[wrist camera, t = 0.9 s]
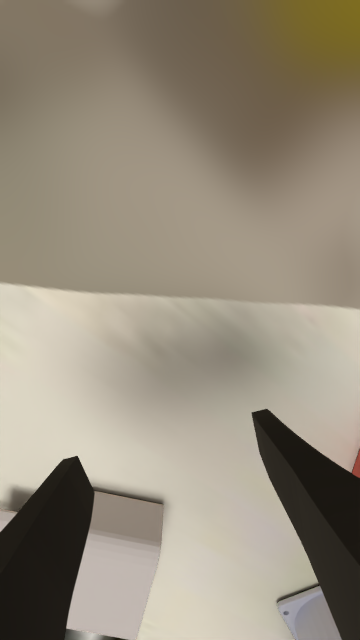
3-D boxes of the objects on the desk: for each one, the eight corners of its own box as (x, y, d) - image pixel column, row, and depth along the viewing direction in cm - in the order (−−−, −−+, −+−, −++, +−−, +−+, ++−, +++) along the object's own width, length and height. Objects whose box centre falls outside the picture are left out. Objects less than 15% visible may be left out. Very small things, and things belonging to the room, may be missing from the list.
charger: (-11, 462, 23) (164, 498, 24) (-21, 549, 25) (142, 580, 26) (-59, 512, 19) (161, 555, 19) (-66, 614, 20) (134, 650, 21)
